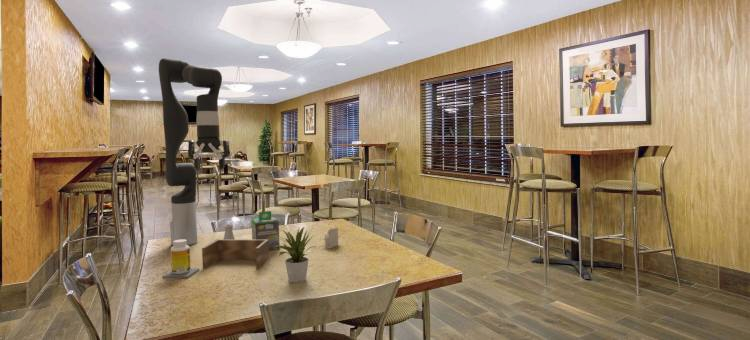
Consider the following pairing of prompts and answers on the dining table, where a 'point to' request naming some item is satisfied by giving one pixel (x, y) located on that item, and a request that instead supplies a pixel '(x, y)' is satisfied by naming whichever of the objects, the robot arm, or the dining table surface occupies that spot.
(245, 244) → the walnut box
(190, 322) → the dining table surface
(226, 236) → the flask
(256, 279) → the dining table surface
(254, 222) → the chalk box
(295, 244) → the house plant
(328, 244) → the architectural model
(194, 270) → the grey pad
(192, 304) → the dining table surface
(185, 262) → the supplement bottle
